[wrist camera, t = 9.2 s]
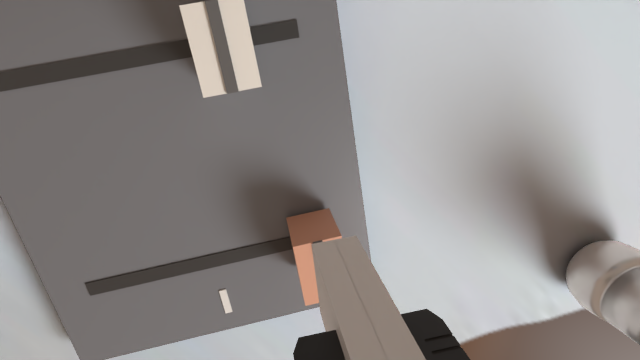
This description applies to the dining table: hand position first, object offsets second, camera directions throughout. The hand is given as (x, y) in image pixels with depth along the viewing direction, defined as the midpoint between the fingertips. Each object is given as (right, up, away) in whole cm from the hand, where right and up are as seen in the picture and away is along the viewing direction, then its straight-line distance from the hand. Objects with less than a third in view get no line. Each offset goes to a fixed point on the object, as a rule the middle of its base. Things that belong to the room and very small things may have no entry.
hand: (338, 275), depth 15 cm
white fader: (-6, +11, +11) cm, 16 cm away
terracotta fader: (-1, -1, +16) cm, 16 cm away
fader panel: (-9, +5, +15) cm, 18 cm away
